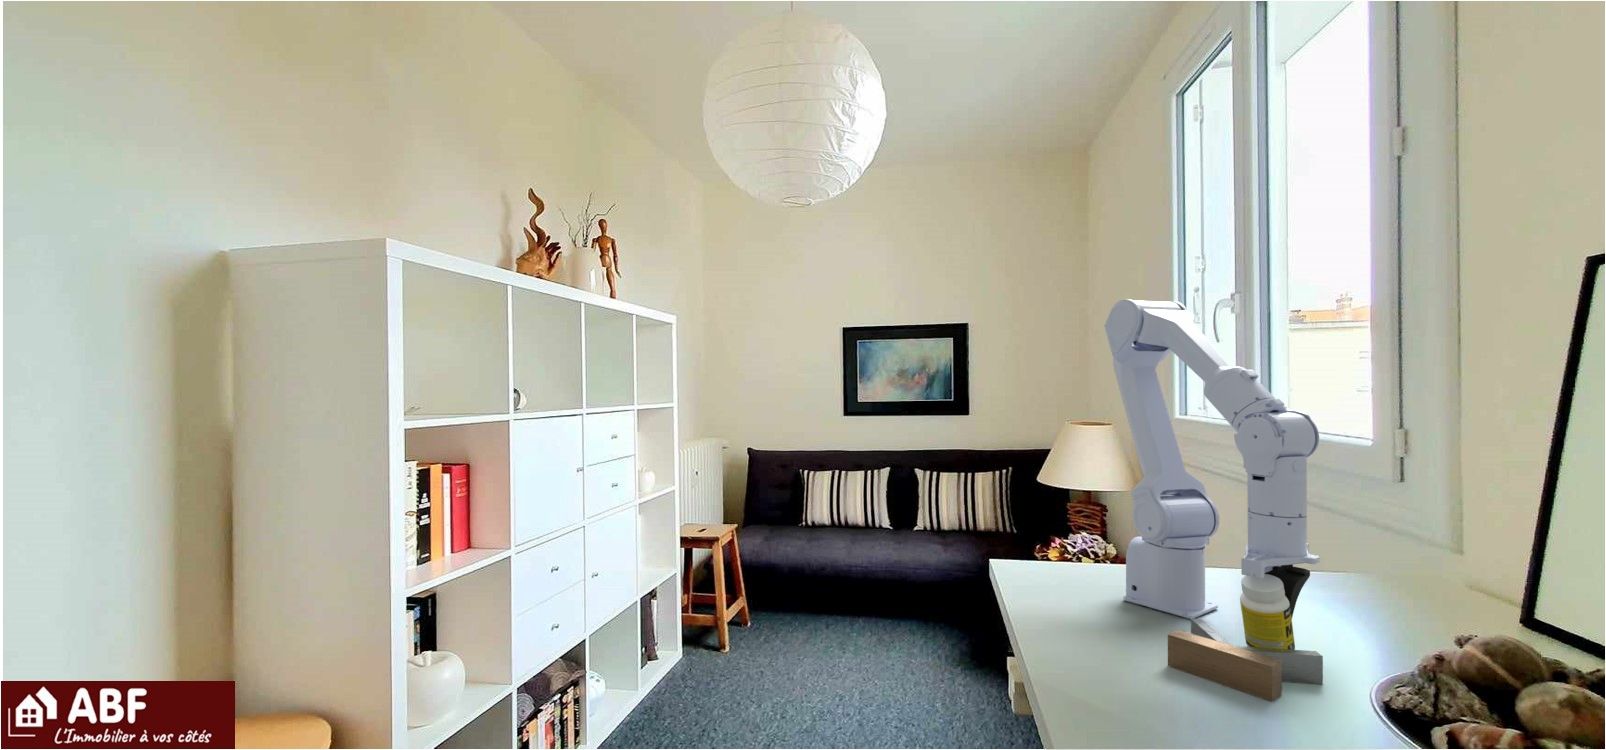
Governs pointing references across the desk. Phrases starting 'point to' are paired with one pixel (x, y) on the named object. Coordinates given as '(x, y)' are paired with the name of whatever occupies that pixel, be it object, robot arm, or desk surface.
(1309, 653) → the v block
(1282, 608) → the supplement bottle
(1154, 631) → the desk surface
